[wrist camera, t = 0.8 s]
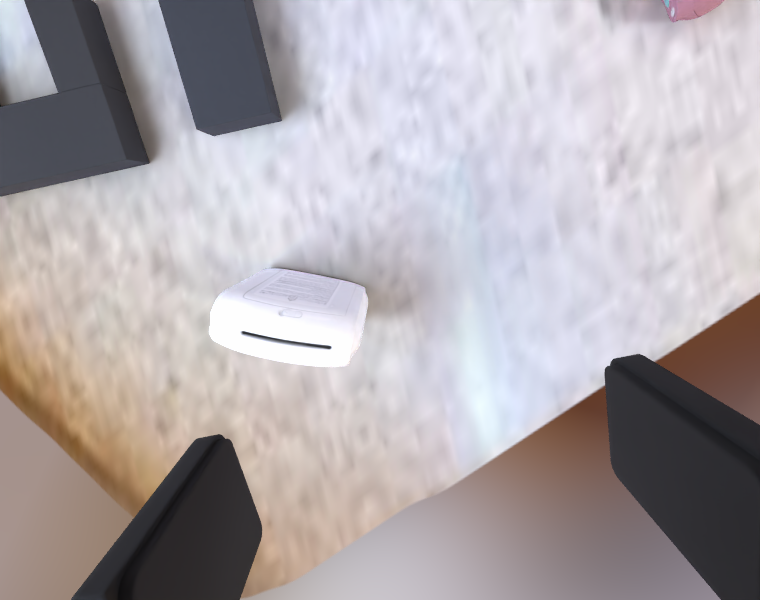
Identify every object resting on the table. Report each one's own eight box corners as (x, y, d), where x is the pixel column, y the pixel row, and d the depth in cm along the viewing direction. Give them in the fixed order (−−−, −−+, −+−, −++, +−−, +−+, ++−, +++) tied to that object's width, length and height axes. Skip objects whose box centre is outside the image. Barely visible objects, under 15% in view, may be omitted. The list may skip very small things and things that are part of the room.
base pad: (-67, 44, 30) (-115, 27, 27) (97, 4, 30) (66, -18, 27) (-2, 196, 33) (-39, 196, 30) (149, 163, 32) (127, 159, 30)
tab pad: (174, 0, 29) (151, -22, 27) (248, -18, 29) (233, -42, 26) (213, 136, 32) (196, 129, 29) (282, 120, 32) (271, 112, 29)
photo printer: (255, 306, 36) (191, 359, 24) (261, 261, 34) (196, 293, 22) (363, 326, 36) (354, 388, 24) (372, 283, 35) (366, 324, 23)
